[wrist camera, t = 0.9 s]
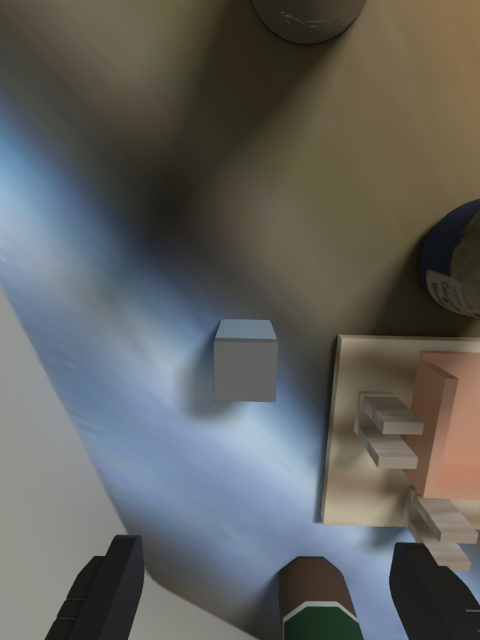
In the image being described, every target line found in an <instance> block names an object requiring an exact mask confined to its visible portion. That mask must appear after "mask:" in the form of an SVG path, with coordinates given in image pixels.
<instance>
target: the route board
mask: <svg viewBox="0 0 480 640" xmlns="http://www.w3.org/2000/svg"><path fill="white" fill-rule="evenodd" d="M420 351H443V352H480V338H465V337H421V336H376V335H338V337H337V347H336V358H335V368H334V378H333V389H332V399H331V409H330V420H329V430H328V440H327V451H326V461H325V471H324V481H323V492H322V502H321V512H320V515H321V519H322V522H323V525H345V526H381V527H408V529H409V531H410V532H411V534H412V536H413V537H414V539H415V541H416V542H417V543H423V544H424V545H425V546H426V547H427V548H428V549H429V551H430V553H431V554H432V556H433V558H434V559H435V561H436V562H437V564H438V566H448V567H449V568H450V569H451V570H452V571H454V572H469V570H470V566H471V562H470V560H469V559H468V558H467V556H466V555H465V553H464V552H463V551H462V549H461V548H460V547H459V545H458V544H457V543H473V544H476V541H477V537H478V533H477V532H476V530H475V529H480V500H474V499H437V498H423V497H422V496H421V495H420V493H419V492H418V490H417V489H416V488H415V486H414V485H413V484H412V482H411V481H410V480H409V478H408V477H407V475H406V474H405V473H404V471H403V470H402V469H416V467H417V462H418V457H417V456H416V455H415V453H414V452H413V451H412V450H411V449H410V448H409V446H408V445H407V444H406V443H405V441H406V435H407V434H415V435H422V433H423V428H424V422H423V421H422V420H421V419H420V418H419V417H418V416H417V415H415V414H414V413H413V412H412V411H411V404H412V398H413V392H414V386H415V380H416V374H417V368H418V362H419V355H420Z"/></svg>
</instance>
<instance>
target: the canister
mask: <svg viewBox="0 0 480 640" xmlns="http://www.w3.org/2000/svg"><path fill="white" fill-rule="evenodd" d="M420 276H421V281H422V283H423V286H424V288H425V290H426V291H427V293H428V294H429V296H430V297H431V298H432V299H433V300H434V301H435V302H436V303H437V304H438V305H440V306H441V307H443V308H445V309H447V310H449V311H451V312H454V313H457V314H462V315H467V316H470V317H474V318H477V319H480V199H477V200H474V201H471V202H468V203H466V204H463V205H461V206H459V207H458V208H456V209H454V210H453V211H451V212H450V213H449V214H447V215H446V216H445V217H444V218H443V219H442V220H440V222H439V223H438V224H437V225H436V226H435V227H434V228H433V230H432V231H431V233H430V234H429V236H428V238H427V240H426V242H425V244H424V247H423V250H422V253H421V257H420Z"/></svg>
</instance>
